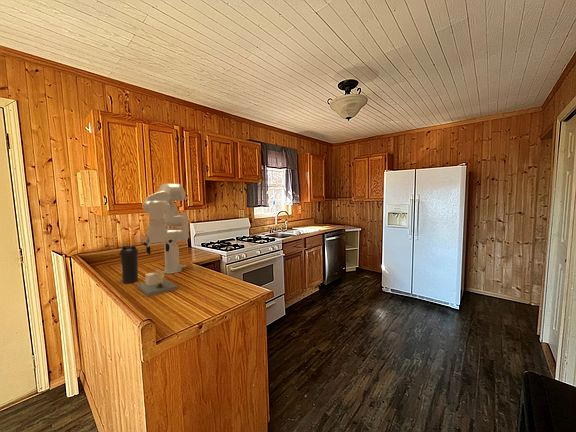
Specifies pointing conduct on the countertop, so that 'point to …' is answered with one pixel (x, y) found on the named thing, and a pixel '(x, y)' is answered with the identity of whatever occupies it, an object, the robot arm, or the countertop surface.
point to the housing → (157, 288)
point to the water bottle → (129, 264)
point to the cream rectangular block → (151, 279)
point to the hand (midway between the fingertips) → (158, 252)
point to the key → (159, 276)
